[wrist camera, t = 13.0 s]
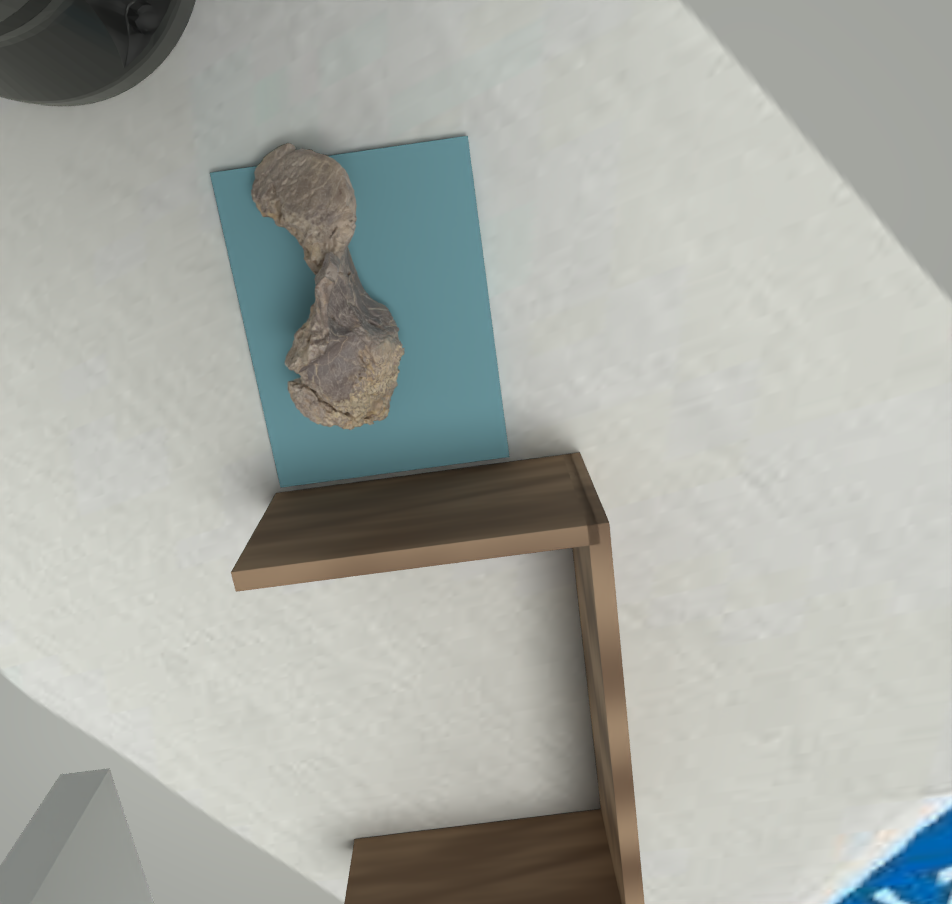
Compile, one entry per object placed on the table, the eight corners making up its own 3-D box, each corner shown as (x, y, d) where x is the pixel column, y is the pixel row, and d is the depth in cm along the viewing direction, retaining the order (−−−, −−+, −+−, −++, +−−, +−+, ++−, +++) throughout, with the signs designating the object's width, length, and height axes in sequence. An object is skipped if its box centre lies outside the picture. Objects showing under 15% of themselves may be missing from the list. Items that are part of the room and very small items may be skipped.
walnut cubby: (275, 493, 48) (230, 572, 39) (579, 452, 48) (608, 522, 38) (357, 851, 57) (336, 988, 47) (617, 819, 56) (648, 951, 47)
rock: (368, 131, 42) (350, 125, 35) (417, 409, 46) (410, 451, 40) (251, 150, 42) (210, 148, 35) (312, 424, 47) (286, 469, 40)
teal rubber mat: (213, 172, 43) (209, 172, 42) (467, 136, 42) (467, 135, 42) (282, 483, 48) (280, 487, 48) (508, 453, 48) (509, 457, 47)
